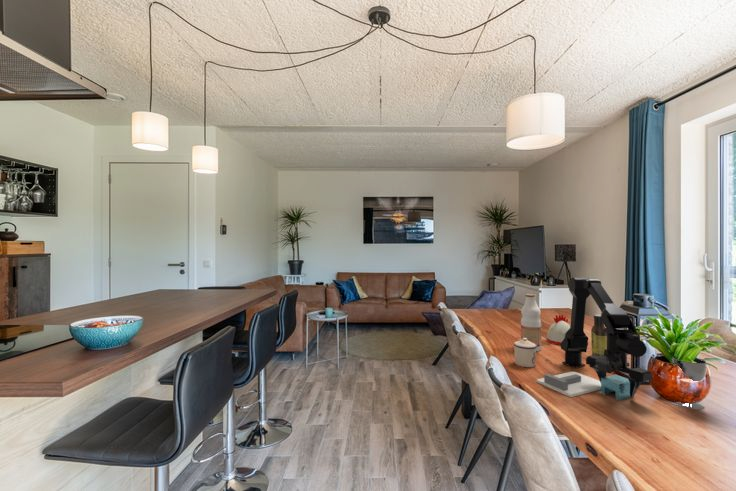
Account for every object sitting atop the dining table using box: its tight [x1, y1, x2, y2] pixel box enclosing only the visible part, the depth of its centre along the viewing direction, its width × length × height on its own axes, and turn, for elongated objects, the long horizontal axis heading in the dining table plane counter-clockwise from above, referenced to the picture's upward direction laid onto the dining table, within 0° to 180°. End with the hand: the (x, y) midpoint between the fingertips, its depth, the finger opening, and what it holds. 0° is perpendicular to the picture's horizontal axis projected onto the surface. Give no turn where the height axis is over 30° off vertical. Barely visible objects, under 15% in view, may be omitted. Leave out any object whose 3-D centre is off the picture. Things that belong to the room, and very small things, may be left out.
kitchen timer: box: [546, 314, 571, 346], centre depth 180 cm, size 14×14×15 cm
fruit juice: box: [520, 293, 542, 352], centre depth 169 cm, size 9×9×28 cm
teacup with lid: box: [513, 338, 537, 368], centre depth 148 cm, size 12×9×12 cm
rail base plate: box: [536, 371, 601, 398], centre depth 125 cm, size 21×14×4 cm, turn 113°
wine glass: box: [672, 356, 707, 411], centre depth 109 cm, size 8×8×15 cm
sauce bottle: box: [590, 313, 607, 356], centre depth 156 cm, size 6×6×20 cm
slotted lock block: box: [600, 374, 631, 401], centre depth 116 cm, size 8×6×6 cm
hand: (617, 391), depth 116 cm, fingers open, 9 cm apart
